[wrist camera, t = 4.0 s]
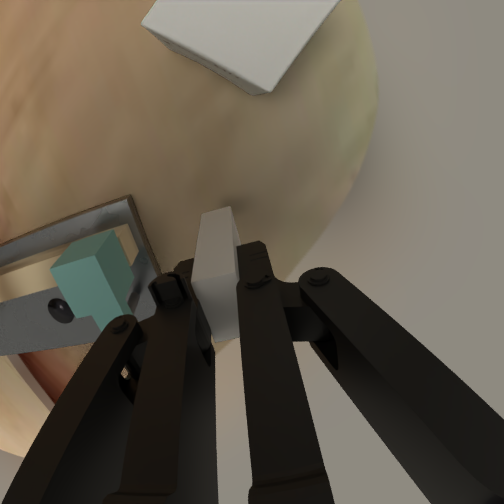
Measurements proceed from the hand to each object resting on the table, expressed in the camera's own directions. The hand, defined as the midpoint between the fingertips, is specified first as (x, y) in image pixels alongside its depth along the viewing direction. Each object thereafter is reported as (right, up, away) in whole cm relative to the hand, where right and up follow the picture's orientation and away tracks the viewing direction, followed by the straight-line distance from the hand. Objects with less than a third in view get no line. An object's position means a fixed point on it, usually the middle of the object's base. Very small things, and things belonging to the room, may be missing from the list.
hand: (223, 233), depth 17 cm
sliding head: (-7, -2, +3) cm, 8 cm away
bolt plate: (-17, -4, +5) cm, 18 cm away
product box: (+1, +12, -1) cm, 12 cm away
